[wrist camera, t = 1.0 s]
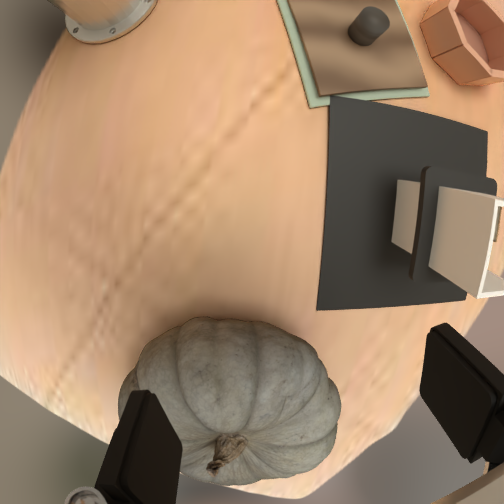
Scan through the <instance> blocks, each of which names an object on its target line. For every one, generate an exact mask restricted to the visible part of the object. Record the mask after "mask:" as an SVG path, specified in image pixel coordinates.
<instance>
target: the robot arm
mask: <svg viewBox="0 0 504 504" xmlns="http://www.w3.org/2000/svg"><path fill="white" fill-rule="evenodd" d="M48 1H49V2H50V3H52V4H53V5H55V6H56V7H57V8H58V9H60V10H61V11H62V12H63V13H65V23H66V28H67V30H68V32H69V33H70V34H71V35H72V36H73V37H75V38H76V39H77V40H79V41H82V42H84V43H91V44H93V43H103V42H107V41H111V40H113V39H116V38H119V37H121V36H122V35H124V34H126V33H128V32H129V31H131V30H132V29H134V28H135V27H137V26H138V25H139V24H140V23H141V22H142V21H143V20H144V19H145V18H146V17H147V16H148V15H149V14H150V13H151V11H152V9H153V8H154V6H155V5H156V2H157V0H48ZM420 395H421V397H422V399H423V400H424V402H425V403H426V404H427V406H428V407H429V409H430V410H431V412H432V413H433V415H434V416H435V417H436V419H437V420H438V422H439V423H440V425H441V426H442V428H443V429H444V431H445V432H446V434H447V435H448V437H449V438H450V440H451V441H452V443H453V444H454V446H455V447H456V449H457V450H458V452H459V453H460V455H461V456H462V457H463V458H464V459H466V458H467V459H468V460H469V462H470V463H473V462H474V461H476V460H478V459H479V458H481V457H483V458H484V459H485V461H486V463H485V468H484V473H483V476H481V477H480V478H478V479H476V480H474V481H473V482H471V483H469V484H467V485H466V486H464V487H462V488H460V489H458V490H456V491H455V492H453V493H451V494H449V495H447V496H445V497H443V498H441V499H439V500H437V501H435V502H433V503H431V504H504V375H503V374H502V373H501V372H500V371H499V370H498V369H497V368H496V367H495V366H494V365H493V364H492V363H491V362H490V361H489V360H488V359H487V358H486V357H485V356H483V355H482V354H481V353H480V352H479V351H478V350H477V349H476V348H475V347H474V346H473V345H471V344H470V343H469V342H468V341H467V340H466V339H465V338H464V337H463V336H462V335H460V334H459V333H458V332H457V331H456V330H455V329H454V328H453V327H451V326H450V325H449V324H448V323H442V324H440V325H437V326H435V327H432V328H431V330H430V333H428V334H427V338H426V347H425V355H424V363H423V370H422V377H421V383H420ZM182 452H183V447H182V443H181V441H180V439H179V437H178V435H177V433H176V432H175V430H174V428H173V426H172V424H171V423H170V421H169V419H168V417H167V415H166V413H165V411H164V409H163V408H162V406H161V404H160V402H159V400H158V398H157V396H156V394H155V393H151V392H150V391H149V390H147V389H146V390H133V391H131V393H130V395H129V398H128V400H127V403H126V406H125V408H124V411H123V413H122V416H121V419H120V421H119V424H118V426H117V428H116V429H115V431H114V433H113V436H112V439H111V441H110V444H109V447H108V450H107V452H106V455H105V458H104V461H103V464H102V466H101V469H100V472H99V475H98V478H97V481H96V484H95V487H94V488H91V487H80V488H77V489H75V490H74V491H72V492H71V493H70V494H69V495H68V496H67V498H66V500H65V504H175V503H176V495H177V488H178V479H179V473H180V466H181V459H182Z"/></svg>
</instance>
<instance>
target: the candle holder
mask: <svg viewBox="0 0 504 504" xmlns="http://www.w3.org/2000/svg"><path fill="white" fill-rule="evenodd" d="M487 140H488V132H487V131H484V130H481V129H478V128H475V127H472V126H469V125H466V124H463V123H460V122H456V121H453V120H450V119H446V118H443V117H439V116H435V115H432V114H428V113H424V112H420V111H415V110H411V109H407V108H402V107H398V106H393V105H388V104H383V103H378V102H372V101H366V100H360V99H354V98H348V97H341V96H333V95H330V126H329V160H328V183H327V200H326V216H325V229H324V242H323V253H322V264H321V274H320V284H319V293H318V302H317V311H318V310H344V309H364V308H381V307H396V306H409V305H422V304H433V303H444V302H454V301H463V300H465V299H466V296H467V292H468V293H469V294H470V295H472V296H473V297H475V298H476V299H478V298H486V297H494V296H502V295H504V279H503V278H501V277H499V276H498V275H496V274H494V273H492V272H491V271H489V270H487V268H488V264H489V259H490V254H491V249H492V244H493V242H497V237H498V231H499V224H500V217H501V210H502V207H504V198H501V197H497V196H496V193H497V183H496V181H495V180H494V179H492V178H487V177H486V171H487Z"/></svg>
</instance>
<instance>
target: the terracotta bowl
mask: <svg viewBox="0 0 504 504" xmlns="http://www.w3.org/2000/svg"><path fill="white" fill-rule="evenodd" d="M420 27H421V29H422V32H423V35H424V37H425V40H426V43H427V46H428V49H429V52H430V55H431V58H433V60H434V61H435V62H436V63H437V64H438V65H439V66H440V67H441V68H442V69H443V70H444V71H445V72H446V73H447V74H448V75H449V76H450V77H451V78H452V79H453V80H454V81H455V82H456V83H457V84H459V85H474V86H484V85H489V84H493V83H498V82H503V81H504V18H503V17H502V16H501V15H500V14H499V12H498V11H497V10H496V9H495V8H494V7H493V6H492V5H491V4H490V3H489V2H488V1H487V0H437V1H436V2H434V3H433V4H432V5H430V7H429V8H428V10H427V12H426V14H425V15H424V17H423V19H422V21H421V22H420Z"/></svg>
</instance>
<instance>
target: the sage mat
mask: <svg viewBox="0 0 504 504" xmlns="http://www.w3.org/2000/svg"><path fill="white" fill-rule="evenodd" d="M395 2H396V4H397V6H398V8H399V10H400V13H401V15H402V17H403V20H404V22H405V24H406V27H407V29H408V26H407V23H406V21H405V18H404V16H403V13H402V11H401V9H400V6H399V4H398V2H397V0H395ZM277 3H278V6H279V9H280V12H281V15H282V18H283V21H284V24H285V27H286V30H287V33H288V36H289V39H290V42H291V45H292V48H293V52H294V55H295V58H296V62H297V65H298V68H299V72H300V75H301V79H302V82H303V86H304V90H305V93H306V97H307V101H308V105H309V108H315V107H322V106H329V105H330V96H322V97H319V95H318V91H317V88H316V85H315V81H314V78H313V75H312V71H311V68H310V65H309V62H308V59H307V56H306V52H305V49H304V46H303V43H302V41H301V38H300V35H299V32H298V29H297V26H296V23H295V21H294V18H293V15H292V13H291V10H290V7H289V5H288V2H287V0H277ZM408 31H409V29H408ZM409 34H410V31H409ZM410 36H411V34H410ZM411 39H412V37H411ZM412 42H413V39H412ZM413 44H414V42H413ZM414 47H415V45H414ZM415 50H416V48H415ZM416 52H417V51H416ZM417 55H418V54H417ZM418 58H419V57H418ZM419 61H420V60H419ZM420 64H421V63H420ZM421 67H422V66H421ZM333 96H341V97H348V98H354V99H360V100H366V101H371V100H382V99H396V98H413V97H429V96H430V95H429V91H428V87H426V88H410V89H390V90H376V91H365V92H355V93H346V94H337V95H333Z"/></svg>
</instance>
